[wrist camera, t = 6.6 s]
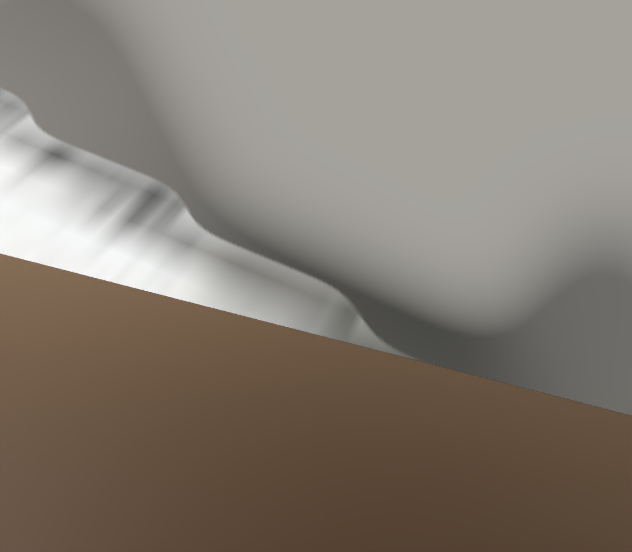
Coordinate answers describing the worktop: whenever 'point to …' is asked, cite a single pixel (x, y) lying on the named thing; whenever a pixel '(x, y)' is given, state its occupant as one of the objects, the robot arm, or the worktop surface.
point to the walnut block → (276, 438)
